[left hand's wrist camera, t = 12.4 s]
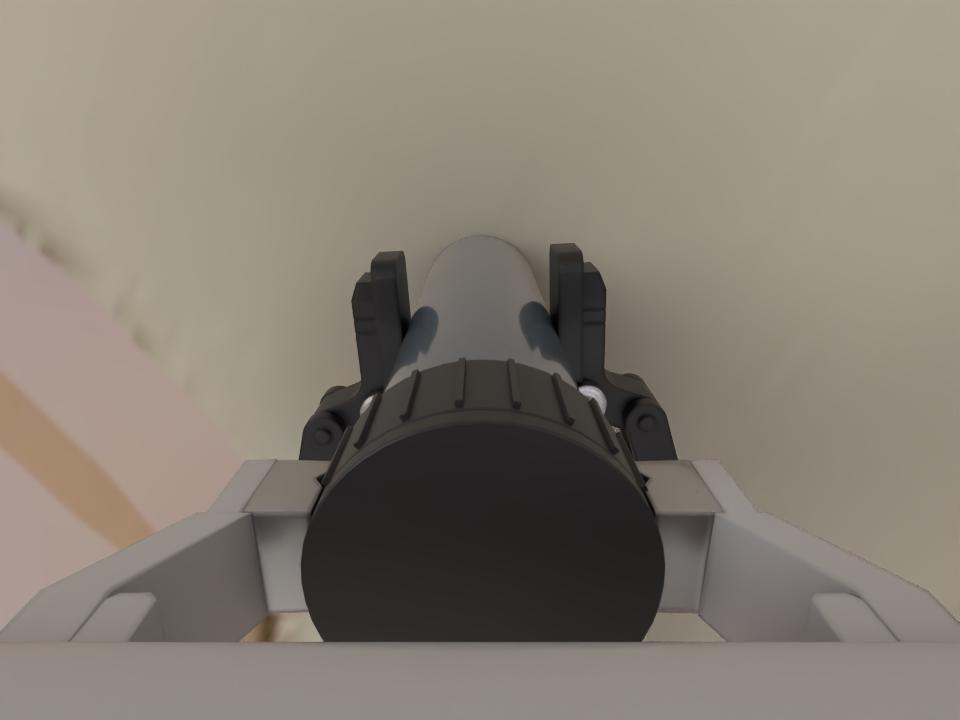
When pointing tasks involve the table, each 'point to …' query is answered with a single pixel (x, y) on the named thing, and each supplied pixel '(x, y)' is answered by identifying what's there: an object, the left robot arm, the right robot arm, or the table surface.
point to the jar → (480, 313)
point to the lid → (482, 517)
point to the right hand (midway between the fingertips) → (475, 254)
